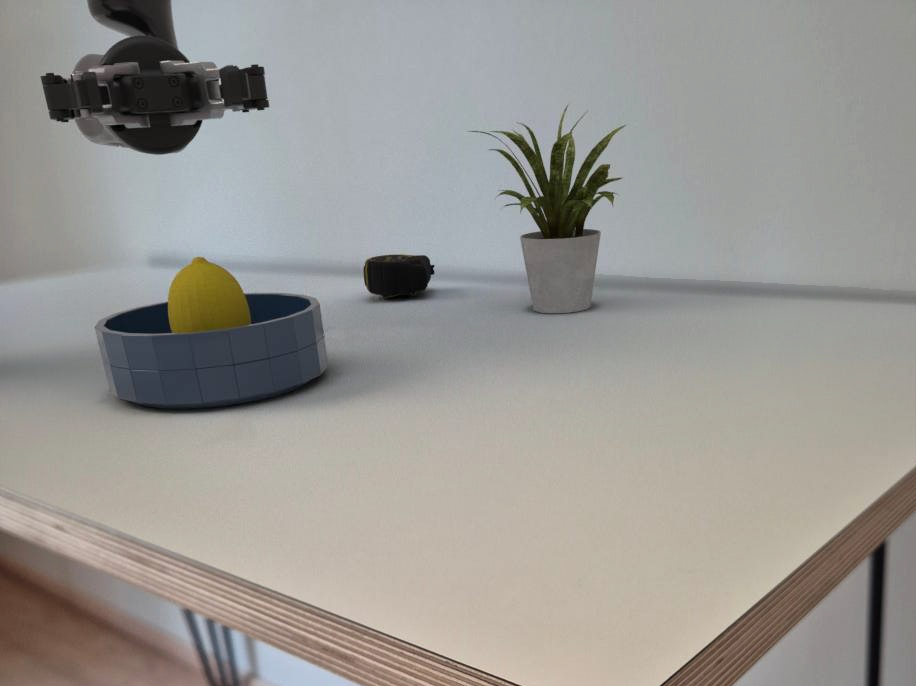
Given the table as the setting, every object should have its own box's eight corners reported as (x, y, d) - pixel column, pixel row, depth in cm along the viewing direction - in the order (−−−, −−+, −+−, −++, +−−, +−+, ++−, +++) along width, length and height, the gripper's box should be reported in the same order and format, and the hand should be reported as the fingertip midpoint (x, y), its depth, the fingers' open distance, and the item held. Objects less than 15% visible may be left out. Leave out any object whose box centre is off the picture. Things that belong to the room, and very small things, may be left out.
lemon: (202, 366, 72) (180, 252, 68) (271, 365, 71) (252, 249, 67) (167, 385, 68) (141, 264, 64) (240, 384, 66) (218, 261, 63)
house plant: (451, 326, 83) (435, 110, 75) (488, 297, 95) (477, 107, 87) (617, 323, 80) (619, 97, 72) (634, 293, 91) (637, 96, 83)
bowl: (144, 427, 61) (125, 346, 58) (92, 383, 72) (75, 314, 70) (362, 383, 67) (353, 308, 65) (283, 349, 79) (273, 285, 76)
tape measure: (429, 300, 95) (425, 260, 94) (360, 303, 96) (356, 263, 94) (436, 288, 101) (433, 250, 99) (371, 292, 102) (367, 254, 100)
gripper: (33, 44, 69) (26, 20, 56) (232, 37, 73) (271, 14, 60) (60, 160, 73) (60, 164, 59) (249, 148, 77) (289, 149, 63)
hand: (166, 88), depth 60 cm, fingers open, 8 cm apart
